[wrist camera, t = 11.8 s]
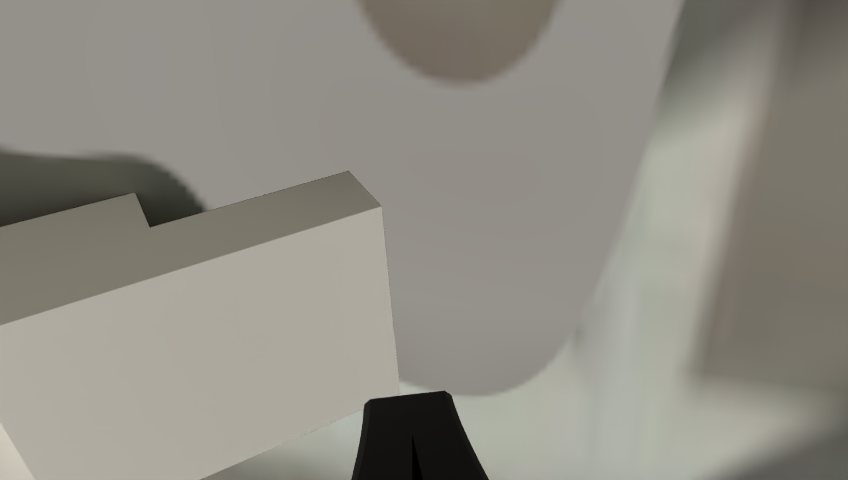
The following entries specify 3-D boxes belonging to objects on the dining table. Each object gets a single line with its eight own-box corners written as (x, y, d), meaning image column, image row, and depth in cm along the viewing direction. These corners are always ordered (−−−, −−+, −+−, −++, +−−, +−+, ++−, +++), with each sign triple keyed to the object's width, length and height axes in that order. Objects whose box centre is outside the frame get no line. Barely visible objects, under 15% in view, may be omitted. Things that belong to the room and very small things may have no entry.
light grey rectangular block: (382, 206, 12) (-50, 340, 10) (400, 393, 15) (68, 535, 13) (348, 171, 14) (-45, 283, 11) (371, 350, 16) (62, 473, 14)
